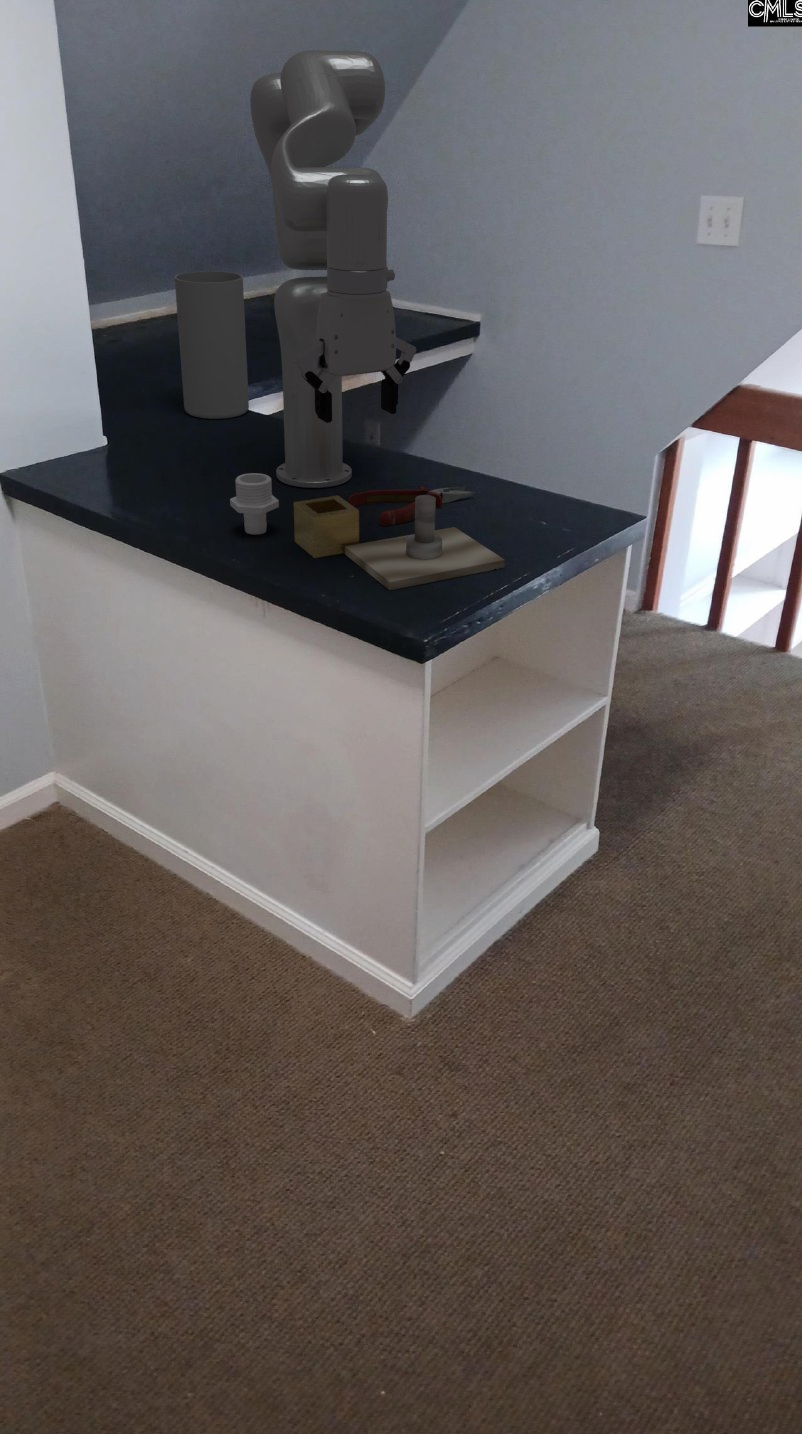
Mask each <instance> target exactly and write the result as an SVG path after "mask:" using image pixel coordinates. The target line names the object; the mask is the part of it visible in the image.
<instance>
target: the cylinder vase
mask: <svg viewBox="0 0 802 1434" xmlns="http://www.w3.org/2000/svg"><path fill="white" fill-rule="evenodd" d="M243 277H244V276H243V275H242V274H240V273H235V272H230V271H219V270H217V271H216V270H201V271H190V272H189V271H187V272H182V273H178V274H176V275H174V287H175V300H176V301H175V302H176V314H177V315H176V316H177V327H178V329H177V330H178V340H179V342H178V343H179V353H180V367H181V382H182V393H183V395H182V396H183V408H184V410H185V411H184V412H186V413H187V414H188V415H190V416H192V417H195V418H200V419H207V420H208V419H209V420H220V419H222V420H223V419H231V418H236V417H239V416H242V415H244V414H246V413H247V412H248V410H249V407H250V404H249V403H250V401H249V383H248V382H249V381H248V379H249V377H248V362H247V361H248V360H247V341H246V340H247V339H246V317H245V300H244V299H245V298H244V297H245V296H244V294H245V293H244V278H243Z"/></svg>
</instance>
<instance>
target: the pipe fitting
mask: <svg viewBox="0 0 802 1434" xmlns="http://www.w3.org/2000/svg"><path fill="white" fill-rule="evenodd" d="M234 482H235V492H236V493H235V495H236V496H234V497H231V498H230V499H229V504H230V507H231V508H233V510H235V511H236V512H237V513H239V514H243V518H244V519H243V524H244V532H245V533H247V534H248V535H249V534H250V535H263V534H265V533H266V532H267V523H268V522H267V513H269V512H270V511H274V510H275V509H278V508H279V507H280V506H279V505H280V503H279V502H280V501H279V499H277V497H275V496H274V495H273V493H272V492H273V490H272V489H273V488H272V484H273V483H272V477H270V476H269V475H267V474H264V473H256V472H255V473H254V472H251V473H249V472H248V473H244V474H240V475H238V476H237V477H236V478H235V480H234Z"/></svg>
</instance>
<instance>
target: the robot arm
mask: <svg viewBox="0 0 802 1434" xmlns="http://www.w3.org/2000/svg"><path fill="white" fill-rule="evenodd" d="M385 97H386V83H385V77H384V72H383V70H382V68H381V65H380V63H379V61H378V60H377V59H376V57H374V56H373V55H372V54H370V53H369V52H366V51H360V50H358V51H357V50H318V49H317V50H315V49H313V50H304V51H299V52H297V53H295V54H294V55H292V56H291V57H289V58H288V59H287V60H286V62H285V63H284V65H283V67H282V69H281V72H276V73H275V72H274V73H270V74H266V75H263V76H261V77H260V78H258V79H257V80H256V81H255V82H254V83H253V85H252V87H251V91H250V98H249V99H250V100H249V101H250V102H249V103H250V115H251V121H252V127H253V131H254V135H255V138H256V141H257V142H256V143H257V144H258V148H259V150H260V152H261V154H262V157H263V159H264V162H265V164H266V167H267V169H268V173H269V176H270V180H271V188H272V197H273V198H272V199H273V200H272V201H273V211H274V220H275V231H276V232H275V233H276V239H277V246H278V247H277V248H278V252H279V256H280V258H281V261H282V263H283V264H284V265H285V266H286V267H288V268H290V269H293V270H297V271H298V270H299V271H326V276H303V277H302V276H301V277H296V278H291V279H289V280H286V281H284V282H282V283H281V284H280V285H279V286H278V287H277V288H276V291H275V294H274V298H273V299H274V301H273V303H274V305H273V307H274V315H275V322H276V327H277V333H278V338H279V345H280V354H281V357H280V358H281V371H282V375H281V377H282V378H281V379H282V397H283V398H282V401H283V403H282V404H283V406H282V407H283V430H284V447H283V448H284V458H285V460H284V463H281V464H280V465H279V466H278V467H277V468H276V471H275V474H276V478H277V480H278V481H280V482H281V483H283V484H286V485H289V486H293V487H296V488H307V489H319V488H320V489H321V488H331V487H335V486H339V485H341V484H342V485H343V484H345V483H347V482H348V481H349V480H350V479H351V478H352V475H353V474H352V473H353V469H352V468H351V466H350V465H348V464H347V463H344V462H343V377H348V376H356V375H364V374H365V375H366V374H373V373H381V374H382V375H383V377H384V378H383V379H381V382H380V408H381V409H382V410H383V411H385V412H386V413H389V414H390V415H394V414H397V406H398V404H399V384H401V383H402V381H403V377H404V376H405V375H406V373H407V372H408V371H409V370H410V368H411V362H412V361H413V360H414V356H415V354H416V352H417V347H416V346H415V345H413V344H410V343H409V342H406V341H405V340H402V339H401V338H399V337H397V333H396V321H395V319H396V318H395V313H394V305H393V301H392V296H391V292H390V291H388V290H387V289H388V283H389V282H390V281H391V282H392V281H394V280H395V278H396V277H395V276H396V273H395V271H394V269H388V266H387V259H388V257H387V252H388V251H387V250H388V249H387V243H388V240H387V239H388V237H387V236H388V234H387V233H388V207H389V194H388V193H389V192H388V186H387V184H386V182H385V180H383V178H382V176H381V174H380V173H379V172H378V171H377V170H375V169H372V168H368V167H340V166H338V167H336V166H334V167H333V166H330V165H332V164H334V163H337V162H338V161H339V160H341V159H343V158H344V157H345V156H346V155H347V154H348V153H349V151H350V150H351V149H352V147H353V145H354V142H355V140H356V136H359V135H361V134H363V133H364V132H365V131H366V130H367V129H369V127H371V125H372V124H374V123H375V121H376V120H377V118H379V116H380V115H381V113H382V110H383V108H384V104H385V100H386V99H385ZM328 166H329V167H328ZM397 350H398V351H399V350H400V353H401V354H400V358H399V359H398V360H397Z"/></svg>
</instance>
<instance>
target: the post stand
mask: <svg viewBox="0 0 802 1434" xmlns="http://www.w3.org/2000/svg"><path fill="white" fill-rule="evenodd" d="M436 510H437V508H436V498H435V497H434V496H430V495H420V496H417V497H416V498H415V519H414V534H407V535H402V536H397V537H391V538H390V537H389V538H384V539H378V540H374V541H373V540H372V541H366V542H362V543H359V544H355V545H350V546H345V553H344V555H345V556H346V557H347V558H349V559H350V560H351V561H352V562H354V563H355V564H356V565H357V566H358V567H360V568H361V569H362V570H364V572H366V573H368V574H369V575H370V576H371V577H373V579H375V580H376V581H378V582H379V583H380V584H381V585H382V586H383V587H385V588H386V589H387V590H389V591H395V590H398V589H404V588H410V587H415V586H418V585H425V584H429V583H434V582H439V581H444V580H449V579H455V578H458V577H459V578H460V577H464V576H468V575H469V576H471V575H474V574H480V573H485V572H490V571H495V570H494V569H496V570H500V568H501V569H505V565H506V564H505V563H506V562H505V561H506V560H505V559H504V558H503V557H502V556H500V555H498V553H495V552H494V551H492V550H490V549H489V548H487V546H485V545H483V544H481V543H480V542H478V541H477V540H476V539H473V538H472V537H470V536H469V535H468V534H466V533H465V532H463V531H461V530H460V529H458V528H457V527H455V526H453V527H447V528H441V529H436Z"/></svg>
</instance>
